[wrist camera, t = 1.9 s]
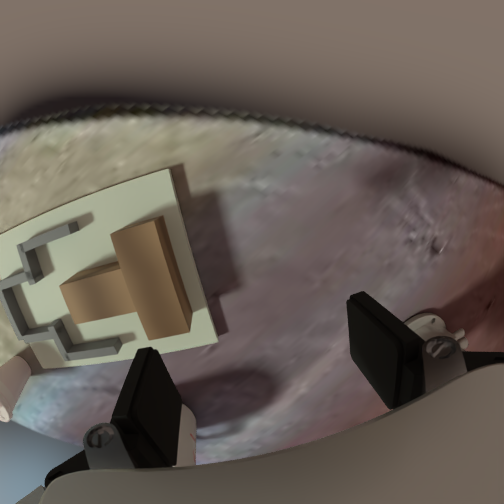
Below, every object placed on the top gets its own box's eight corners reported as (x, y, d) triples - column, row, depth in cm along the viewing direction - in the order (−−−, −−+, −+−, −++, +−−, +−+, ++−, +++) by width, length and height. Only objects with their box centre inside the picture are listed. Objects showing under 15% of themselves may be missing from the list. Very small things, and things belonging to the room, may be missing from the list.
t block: (163, 215, 25) (154, 220, 21) (193, 312, 28) (189, 332, 24) (67, 245, 24) (48, 255, 20) (100, 331, 27) (87, 350, 23)
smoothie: (5, 365, 28) (-38, 418, 14) (8, 339, 27) (-44, 393, 13) (36, 390, 29) (-2, 449, 16) (40, 365, 28) (-5, 429, 15)
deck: (170, 169, 25) (164, 167, 22) (218, 336, 30) (218, 352, 27) (-5, 238, 24) (-21, 244, 21) (46, 364, 28) (36, 377, 25)
